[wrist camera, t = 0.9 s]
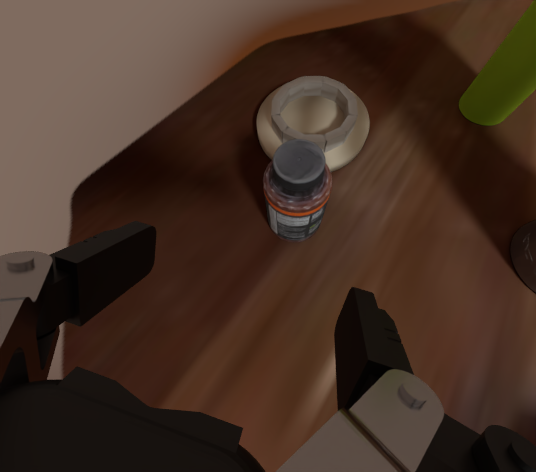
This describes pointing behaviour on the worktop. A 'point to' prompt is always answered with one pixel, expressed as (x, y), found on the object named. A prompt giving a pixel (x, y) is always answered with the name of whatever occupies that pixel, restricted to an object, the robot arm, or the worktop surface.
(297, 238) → the supplement bottle
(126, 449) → the robot arm
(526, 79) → the soap dispenser
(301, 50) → the worktop surface
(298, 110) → the collar plate
